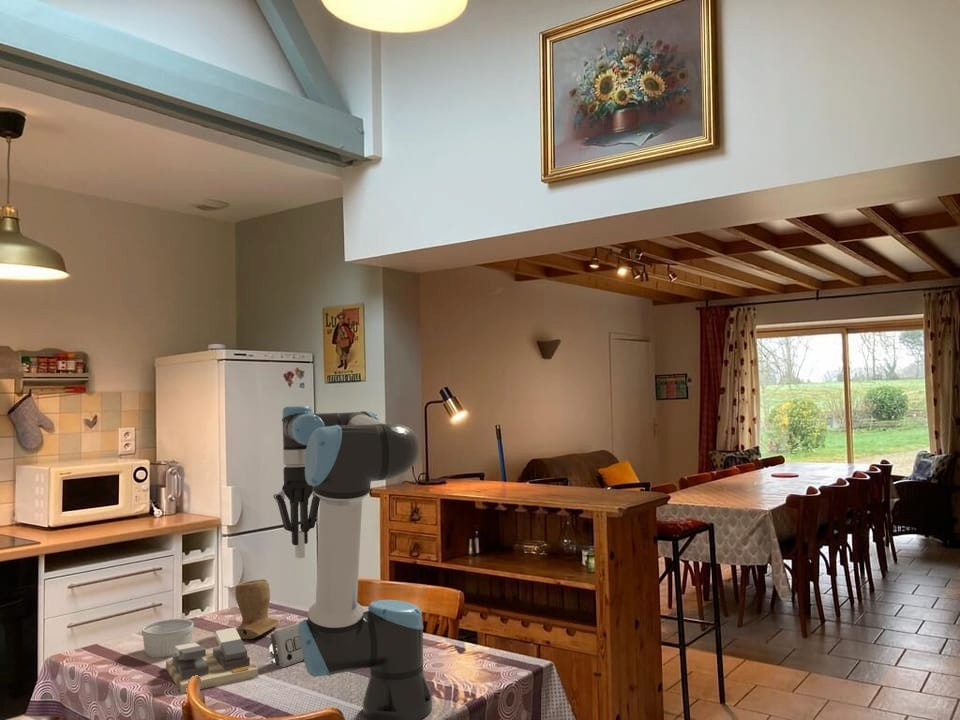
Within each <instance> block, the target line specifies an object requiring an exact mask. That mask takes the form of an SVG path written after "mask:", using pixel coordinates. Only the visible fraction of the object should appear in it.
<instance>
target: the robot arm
mask: <svg viewBox="0 0 960 720" xmlns="http://www.w3.org/2000/svg"><path fill="white" fill-rule="evenodd" d="M281 422H282V447H283V448H282V449H283V450H282V453H283V454H282V455H283V456H282V457H283V458H282V459H283V465H284V468H283V485H282V488H281V491H279V492H278V493H274V495H273V499H274V500H275V502H277V503H276V504H277V507H278V510H279V514H280V516H281V518H280V519H281V521H282V524H283V528H284V530H285V531H288V532H290V533H291V544H292V545H293V546H294V548H295V550H294V552H295V558H297V559H305V558H306V555H305V547H306V546H305V545H307V544H308V541H309V540H308V538H309V537H308V536H309V535H308V533H309V531H310V530H311V529H314V528H315V525H316V522H317V516H318V517H319V518H318V538H317V539H318V540H317V560H316V563H317V565H316V586H315V587H316V589H315V602H314V603H313V604H312V605H311V606H310V607H309V608H308V611H307V619H305V618H304V619H302V620H301V621H299V638H300V644H301V650H302V655H303V659H304V660H303V662H304V666H305V669H306V671H307V673H308V674H309V675H310V676H312V677H315V678H317V677H322V676H328V677H331V676H332V675H337V674H343V673H347V672H353V671H357V670H358V671H359V670H364V669H369V670H370V674H369V675H370V676H369V680H368V684H367V686H366V690H365V693H364V697H363V701H362V714H363V716H364V718H366V719H368V720H422V719H423V718H425V717H426V716H428V715H429V714H431V712H432V710H433V698H432V694H431V691H430V686H429V685H428V681H427V680H426V679H427V678H426V676H425V674H424V640H423V639H424V638H423V637H424V633H423V632H424V631H423V630H424V624H423V616H422V615H423V613H422V610H421V608H419V606H417V605H416V604H414V603H412V602H407V601H405V600H399V599H398V600H396V599H379V600H375V601H371V602H370V603H369V605H368V608H367V611H364V608H363V606H362V605H361V604H360V603H358V590H359V589H358V588H359V570H360V569H359V566H360V549H361V548H360V547H361V533H362V532H361V531H362V529H361V527H362V511H363V510H362V509H363V508H362V507H363V500H364V499H365V498H366V497H367V496H368V495H369V494H370V492H371V485H372V484H371V483H372V482H377V481H387V480H392V479H396V478H398V477H400V476H402V475H404V474H405V473H407V472H408V471H409V470H411V468H413V466H414V465H415V464H416V462H417V461H418V458H419V457H420V447H421V446H420V445H421V444H420V441H419V438H418V436H417V434H416V433H415V432H414V431H413V430H412V429H411V428H410V427H408V426H406V425H404V424H401V423H395V422H394V423H393V422H392V423H386V422H384V421H380V418H379V416H378V414H377V413H376V412H375V411H365V410H363V411H356V412H355V411H352V412H350V411H349V412H326V413H325V412H324V413H323V412H322V413H319V412H318V413H313V410H312V407H311V406H309V405H302V406H301V405H300V406H299V405H298V406H296V405H295V406H285V407H284V408H283V409H282V419H281ZM311 495H312V499H311V503H310V508H308V507H309V498H311ZM285 496H286V497H285ZM286 498H287V499H288V500H289V507H290V516H289V512H288V507H287V504H286V501H285V499H286ZM318 511H319V513H318ZM318 514H319V515H318ZM299 518H300V519H299ZM299 523H300V524H299ZM299 525H300V527H299ZM299 529H300V530H299Z"/></svg>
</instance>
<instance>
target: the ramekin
mask: <svg viewBox="0 0 960 720" xmlns="http://www.w3.org/2000/svg"><path fill="white" fill-rule="evenodd" d="M194 627H195V625H194V622H193V620H191V619H186V618H171V619H163V620H156V621H153V622H151V623H148V624H146V625H144V626H143V627H142V629H141V635H142V639H143V640H142V641H143V647H144V652H145V653H146V654H147V656H149V657H152V658H168V657H172V656H175V655H177V654H176V653H175V646H178V645H184V644H189V643H192V636H193V630H194Z"/></svg>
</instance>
